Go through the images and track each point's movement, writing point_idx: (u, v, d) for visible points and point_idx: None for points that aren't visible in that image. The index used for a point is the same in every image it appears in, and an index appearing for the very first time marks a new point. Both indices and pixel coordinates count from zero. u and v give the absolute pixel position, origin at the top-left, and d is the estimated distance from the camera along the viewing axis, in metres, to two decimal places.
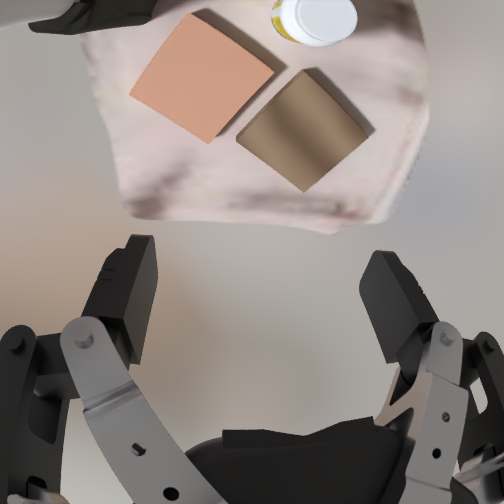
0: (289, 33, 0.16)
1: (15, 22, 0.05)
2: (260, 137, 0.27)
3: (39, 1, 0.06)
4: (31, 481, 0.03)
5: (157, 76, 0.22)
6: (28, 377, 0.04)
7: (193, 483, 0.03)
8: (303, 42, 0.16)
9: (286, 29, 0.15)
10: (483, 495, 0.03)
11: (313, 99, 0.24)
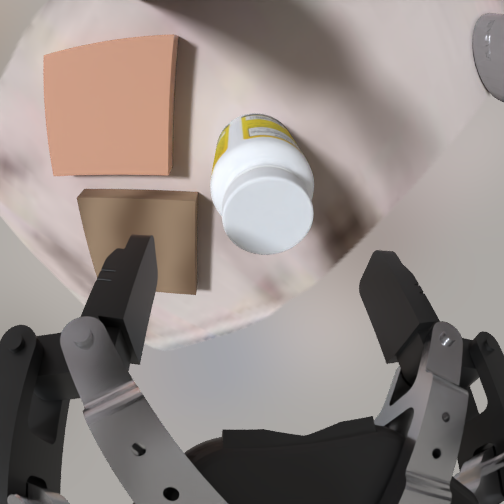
0: (212, 178, 0.14)
1: None
2: (99, 215, 0.21)
3: None
4: (31, 481, 0.03)
5: (77, 66, 0.13)
6: (28, 377, 0.04)
7: (193, 483, 0.03)
8: (213, 201, 0.14)
9: (214, 171, 0.14)
10: (483, 495, 0.03)
11: (177, 229, 0.22)
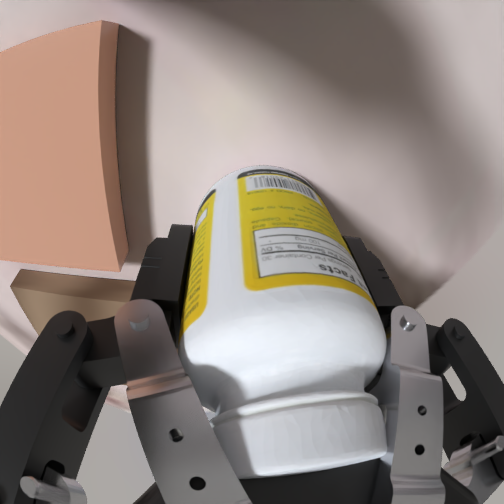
0: None
1: None
2: (42, 309, 0.13)
3: None
4: (48, 463, 0.04)
5: None
6: (72, 365, 0.05)
7: (223, 476, 0.03)
8: None
9: (181, 356, 0.06)
10: (479, 485, 0.03)
11: None
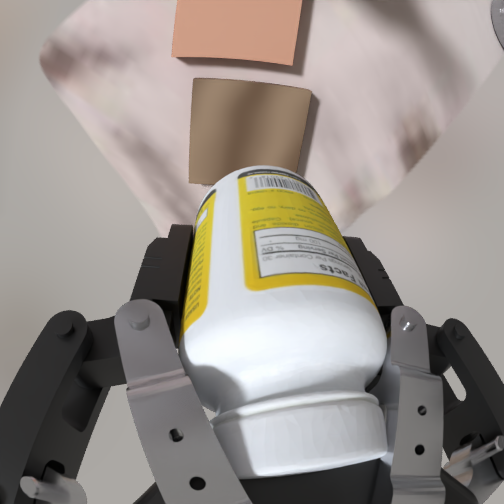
0: None
1: None
2: (214, 97, 0.21)
3: None
4: (49, 463, 0.04)
5: None
6: (72, 364, 0.05)
7: (223, 476, 0.03)
8: None
9: (181, 356, 0.06)
10: (479, 485, 0.03)
11: (291, 116, 0.23)
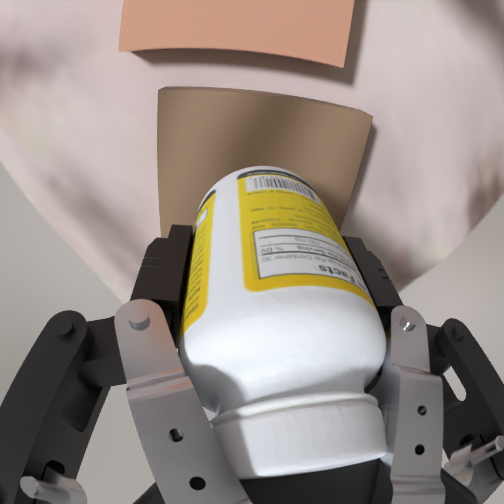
0: None
1: None
2: (198, 123, 0.12)
3: None
4: (48, 462, 0.04)
5: None
6: (72, 364, 0.05)
7: (223, 476, 0.03)
8: None
9: (181, 357, 0.06)
10: (479, 484, 0.03)
11: (335, 159, 0.13)
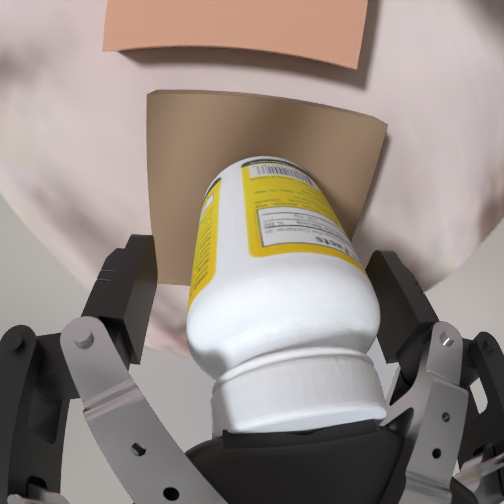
0: (187, 329, 0.07)
1: None
2: (192, 132, 0.10)
3: None
4: (31, 481, 0.03)
5: None
6: (28, 376, 0.04)
7: (193, 483, 0.03)
8: (195, 360, 0.07)
9: (190, 322, 0.07)
10: (483, 495, 0.03)
11: (346, 172, 0.12)
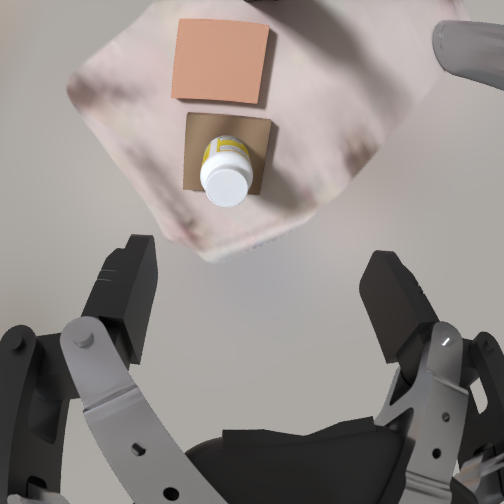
0: (201, 171, 0.28)
1: None
2: (201, 127, 0.31)
3: None
4: (31, 481, 0.03)
5: (205, 30, 0.24)
6: (28, 376, 0.04)
7: (193, 483, 0.03)
8: (201, 183, 0.28)
9: (202, 168, 0.27)
10: (483, 495, 0.03)
11: (256, 140, 0.33)
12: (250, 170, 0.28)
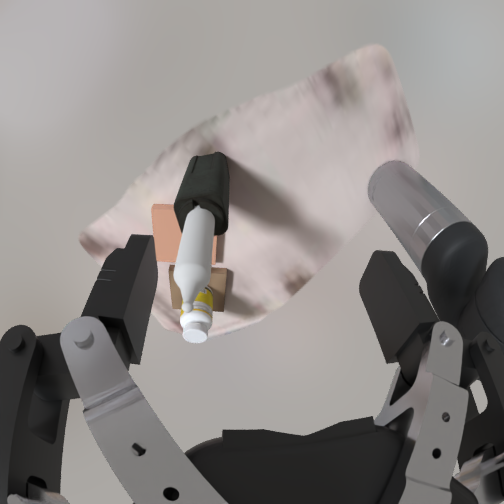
0: (180, 320, 0.45)
1: None
2: None
3: None
4: (31, 481, 0.03)
5: (172, 218, 0.42)
6: (28, 376, 0.04)
7: (194, 483, 0.03)
8: (181, 325, 0.46)
9: (180, 319, 0.45)
10: (483, 495, 0.03)
11: (217, 284, 0.50)
12: (209, 321, 0.45)
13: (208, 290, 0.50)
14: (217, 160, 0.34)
